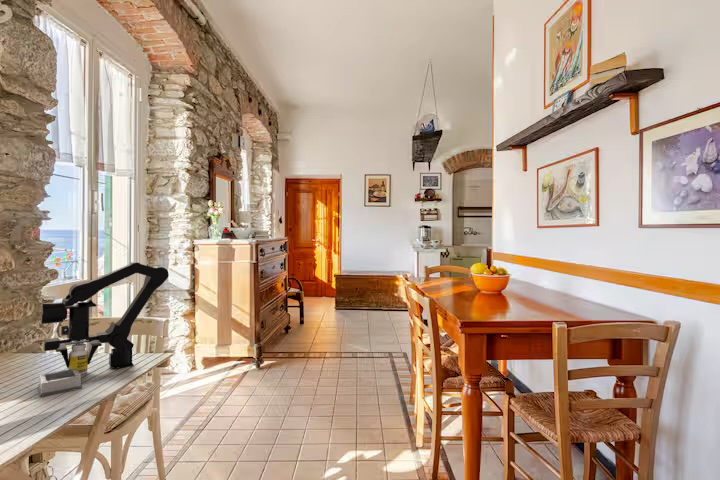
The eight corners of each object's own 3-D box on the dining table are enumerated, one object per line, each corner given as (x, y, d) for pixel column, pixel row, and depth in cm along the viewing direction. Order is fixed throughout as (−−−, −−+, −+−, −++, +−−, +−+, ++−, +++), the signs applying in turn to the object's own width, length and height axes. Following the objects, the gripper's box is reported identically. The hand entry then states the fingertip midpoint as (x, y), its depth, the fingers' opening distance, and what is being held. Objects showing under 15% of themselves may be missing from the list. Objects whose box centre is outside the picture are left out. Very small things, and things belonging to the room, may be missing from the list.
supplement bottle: (77, 376, 130) (78, 347, 130) (64, 375, 131) (64, 346, 131) (91, 371, 135) (92, 343, 135) (78, 369, 136) (79, 342, 136)
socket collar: (77, 379, 127) (77, 367, 127) (81, 388, 120) (82, 376, 120) (37, 386, 121) (38, 374, 121) (40, 396, 113) (40, 383, 113)
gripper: (106, 313, 145) (105, 355, 145) (42, 319, 133) (41, 365, 133) (112, 318, 137) (111, 362, 137) (45, 325, 125) (43, 374, 125)
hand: (78, 365), depth 133 cm, fingers closed on supplement bottle, 5 cm apart
